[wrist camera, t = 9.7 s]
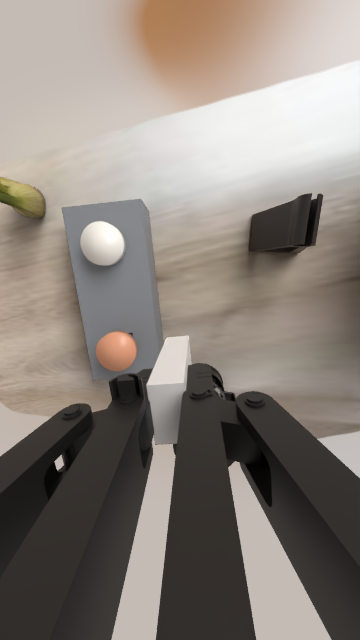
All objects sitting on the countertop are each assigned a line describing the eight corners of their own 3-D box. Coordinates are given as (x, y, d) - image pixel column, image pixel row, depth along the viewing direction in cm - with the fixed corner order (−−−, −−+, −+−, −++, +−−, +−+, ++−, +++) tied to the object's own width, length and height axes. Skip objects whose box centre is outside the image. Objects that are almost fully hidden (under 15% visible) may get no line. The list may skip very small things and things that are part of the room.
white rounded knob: (133, 229, 40) (118, 219, 32) (137, 264, 41) (124, 263, 33) (99, 233, 40) (76, 223, 32) (105, 268, 41) (84, 267, 33)
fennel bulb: (53, 218, 41) (0, 198, 29) (28, 225, 41) (-35, 207, 30) (43, 184, 40) (-17, 148, 28) (17, 191, 40) (-53, 158, 28)
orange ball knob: (143, 320, 42) (132, 332, 34) (147, 350, 43) (137, 369, 35) (111, 322, 42) (92, 335, 34) (116, 353, 44) (99, 372, 35)
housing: (148, 211, 40) (140, 198, 33) (165, 360, 46) (161, 375, 39) (82, 218, 41) (61, 207, 34) (107, 364, 46) (93, 380, 40)
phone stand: (248, 250, 41) (272, 242, 29) (252, 215, 40) (279, 191, 28) (298, 253, 41) (343, 246, 29) (304, 217, 40) (353, 194, 28)
